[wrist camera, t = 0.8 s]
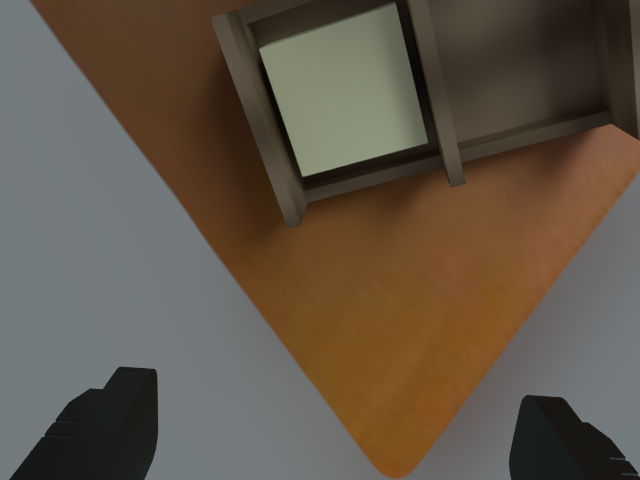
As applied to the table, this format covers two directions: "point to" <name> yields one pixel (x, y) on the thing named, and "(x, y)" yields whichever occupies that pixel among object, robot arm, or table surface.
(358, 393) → the table surface
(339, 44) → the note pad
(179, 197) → the table surface
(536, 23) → the organizer
